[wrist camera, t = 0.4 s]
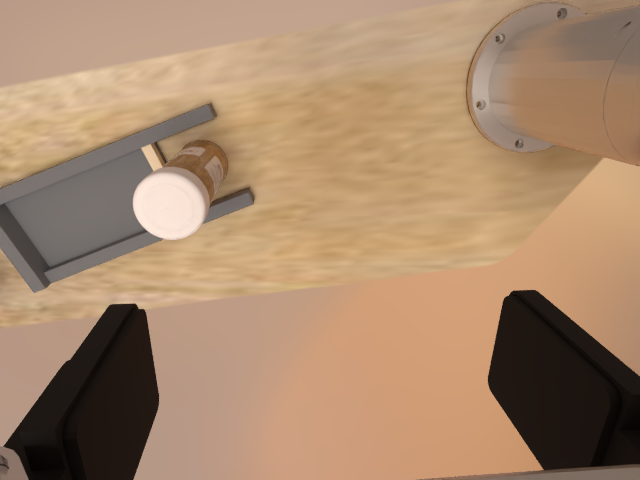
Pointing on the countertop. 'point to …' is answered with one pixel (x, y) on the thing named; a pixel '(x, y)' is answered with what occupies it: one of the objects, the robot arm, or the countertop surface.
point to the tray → (90, 206)
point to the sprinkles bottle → (180, 191)
